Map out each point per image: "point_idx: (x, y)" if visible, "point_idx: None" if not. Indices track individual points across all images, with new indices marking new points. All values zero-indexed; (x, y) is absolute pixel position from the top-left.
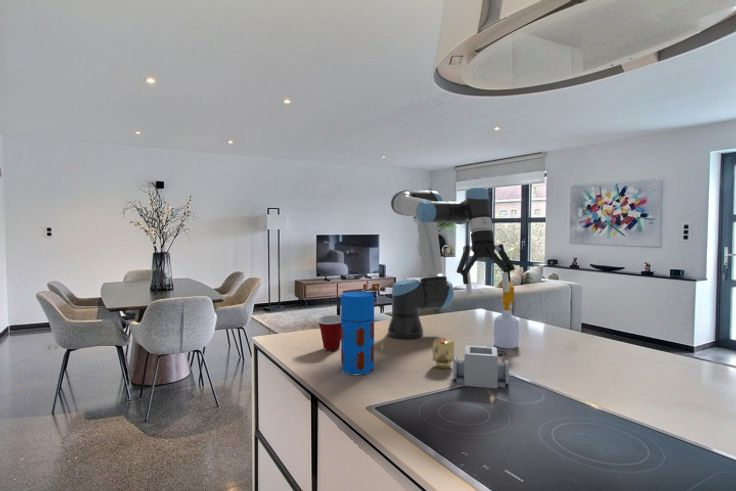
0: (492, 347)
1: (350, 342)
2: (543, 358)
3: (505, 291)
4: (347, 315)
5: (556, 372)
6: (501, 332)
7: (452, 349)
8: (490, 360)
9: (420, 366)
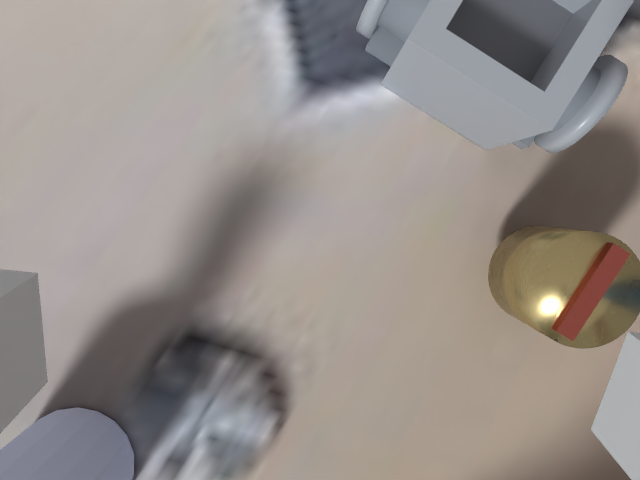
0: (431, 42)
1: None
2: (26, 240)
3: (40, 345)
4: None
5: (94, 60)
6: (88, 478)
7: (541, 237)
8: None
9: None
